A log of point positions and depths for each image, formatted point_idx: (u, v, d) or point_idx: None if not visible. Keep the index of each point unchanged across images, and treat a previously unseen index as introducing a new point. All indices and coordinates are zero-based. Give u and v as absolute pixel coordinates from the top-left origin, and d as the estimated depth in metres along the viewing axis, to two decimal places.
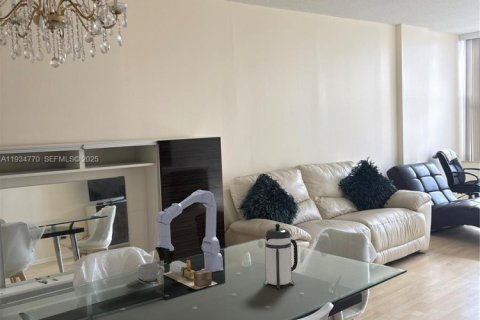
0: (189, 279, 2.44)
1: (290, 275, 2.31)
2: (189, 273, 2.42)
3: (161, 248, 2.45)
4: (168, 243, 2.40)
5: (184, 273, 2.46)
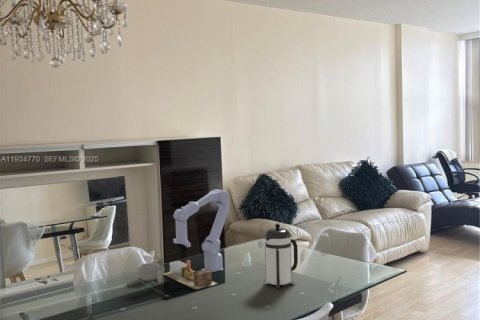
0: (189, 279, 2.44)
1: (290, 275, 2.31)
2: (189, 273, 2.42)
3: None
4: (185, 240, 2.47)
5: (184, 273, 2.46)
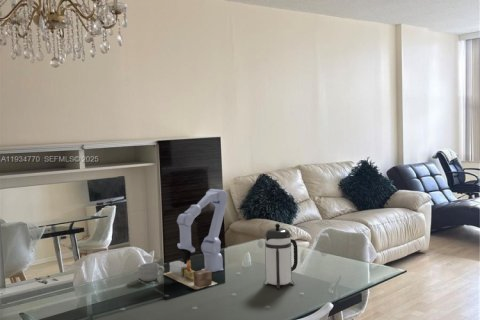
0: (189, 279, 2.44)
1: (290, 275, 2.31)
2: (189, 273, 2.42)
3: None
4: (189, 245, 2.44)
5: (184, 273, 2.46)
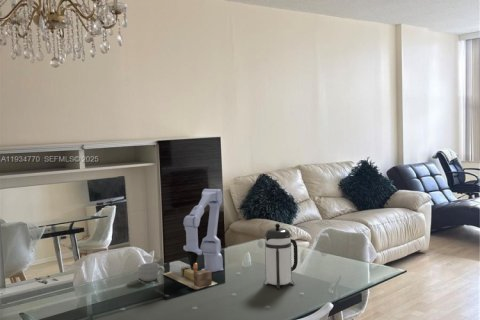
0: (189, 279, 2.44)
1: (290, 275, 2.31)
2: None
3: None
4: (196, 247, 2.39)
5: (191, 276, 2.41)
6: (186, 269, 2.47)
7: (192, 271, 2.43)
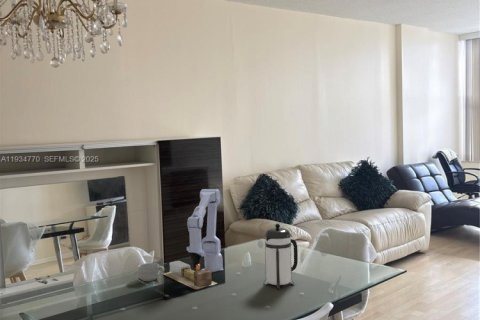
0: (189, 279, 2.44)
1: (290, 275, 2.31)
2: None
3: None
4: (199, 248, 2.36)
5: (193, 277, 2.39)
6: (188, 270, 2.45)
7: None
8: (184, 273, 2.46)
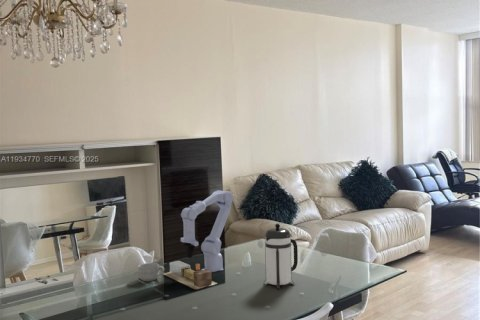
0: (189, 279, 2.44)
1: (290, 275, 2.31)
2: None
3: None
4: (192, 239, 2.46)
5: (193, 277, 2.39)
6: (188, 270, 2.45)
7: None
8: (184, 273, 2.46)
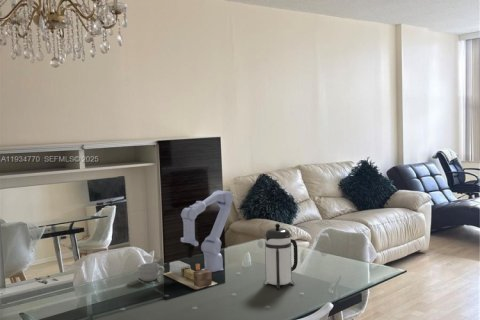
0: (189, 279, 2.44)
1: (290, 275, 2.31)
2: None
3: None
4: (192, 239, 2.46)
5: (193, 277, 2.39)
6: (188, 270, 2.45)
7: None
8: (184, 273, 2.46)
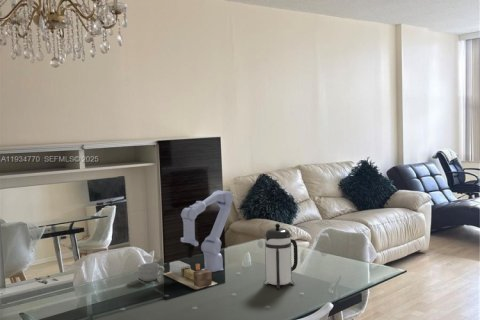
0: (189, 279, 2.44)
1: (290, 275, 2.31)
2: None
3: None
4: (192, 239, 2.46)
5: (193, 277, 2.39)
6: (188, 270, 2.45)
7: None
8: (184, 273, 2.46)
